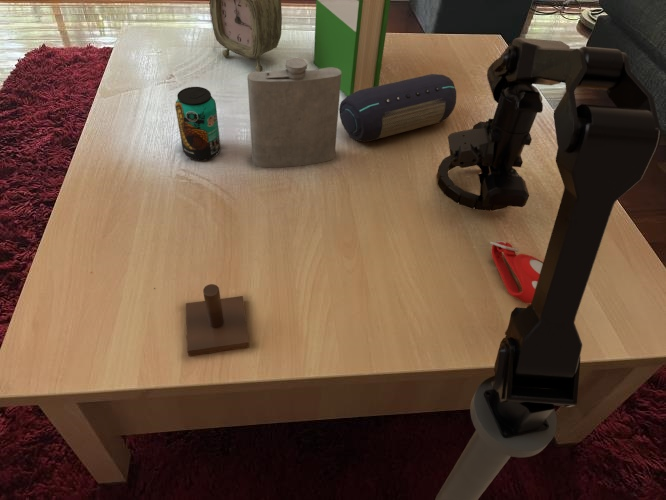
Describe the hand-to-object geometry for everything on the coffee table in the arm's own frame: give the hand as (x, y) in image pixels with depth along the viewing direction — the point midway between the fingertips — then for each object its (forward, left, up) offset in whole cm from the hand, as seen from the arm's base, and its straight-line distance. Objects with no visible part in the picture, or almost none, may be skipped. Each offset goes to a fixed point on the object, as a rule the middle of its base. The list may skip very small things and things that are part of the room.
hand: (483, 201), depth 90 cm
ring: (+6, -2, -1) cm, 7 cm away
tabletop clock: (+61, +33, -4) cm, 69 cm away
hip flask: (+21, +29, -4) cm, 36 cm away
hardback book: (+51, +12, -4) cm, 52 cm away
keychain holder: (-15, 0, -2) cm, 15 cm away
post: (-16, +46, -4) cm, 49 cm away
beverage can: (+26, +46, -4) cm, 53 cm away
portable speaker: (+29, +6, -4) cm, 30 cm away
